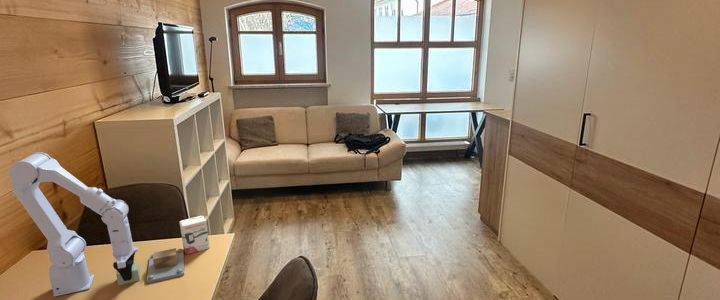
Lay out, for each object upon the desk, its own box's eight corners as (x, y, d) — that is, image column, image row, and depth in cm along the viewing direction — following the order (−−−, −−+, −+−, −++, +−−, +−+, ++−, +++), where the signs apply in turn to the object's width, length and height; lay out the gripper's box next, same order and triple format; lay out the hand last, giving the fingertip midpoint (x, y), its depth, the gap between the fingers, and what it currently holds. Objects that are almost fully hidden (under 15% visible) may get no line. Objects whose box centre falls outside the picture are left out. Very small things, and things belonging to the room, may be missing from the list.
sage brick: (118, 285, 126) (116, 274, 125) (119, 278, 130) (117, 267, 129) (139, 280, 129) (137, 269, 128) (140, 273, 133) (137, 262, 132)
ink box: (186, 255, 143) (181, 226, 139) (183, 249, 147) (178, 220, 143) (210, 248, 147) (206, 219, 144) (207, 242, 151) (203, 214, 148)
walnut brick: (154, 269, 133) (152, 259, 132) (155, 262, 137) (153, 252, 136) (177, 264, 135) (175, 254, 134) (177, 258, 139) (175, 248, 138)
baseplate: (147, 283, 127) (146, 279, 127) (150, 258, 141) (149, 254, 141) (184, 275, 131) (183, 271, 131) (183, 251, 145) (183, 247, 145)
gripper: (133, 247, 120) (140, 284, 124) (137, 226, 133) (144, 261, 137) (106, 252, 118) (114, 290, 122) (113, 230, 130) (121, 265, 134)
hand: (128, 275), depth 129 cm, fingers closed on sage brick, 5 cm apart
